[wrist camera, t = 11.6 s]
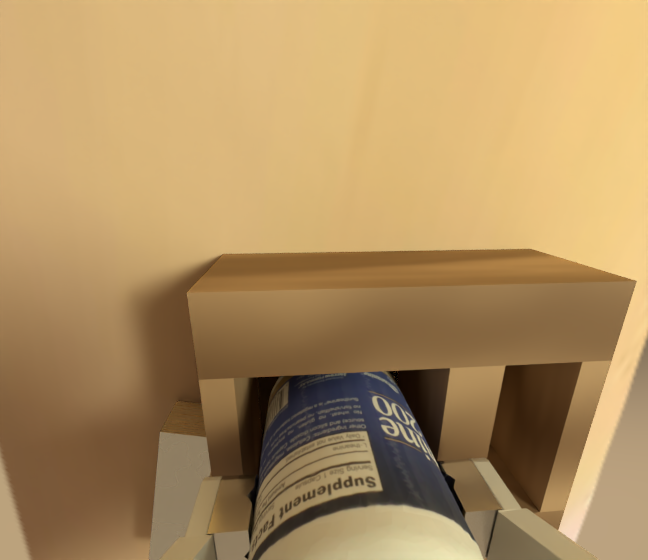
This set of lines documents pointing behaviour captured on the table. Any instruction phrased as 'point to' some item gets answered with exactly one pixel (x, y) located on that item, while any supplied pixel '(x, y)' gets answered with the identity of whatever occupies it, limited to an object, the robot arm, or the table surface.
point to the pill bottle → (351, 477)
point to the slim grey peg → (178, 475)
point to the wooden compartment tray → (419, 350)
